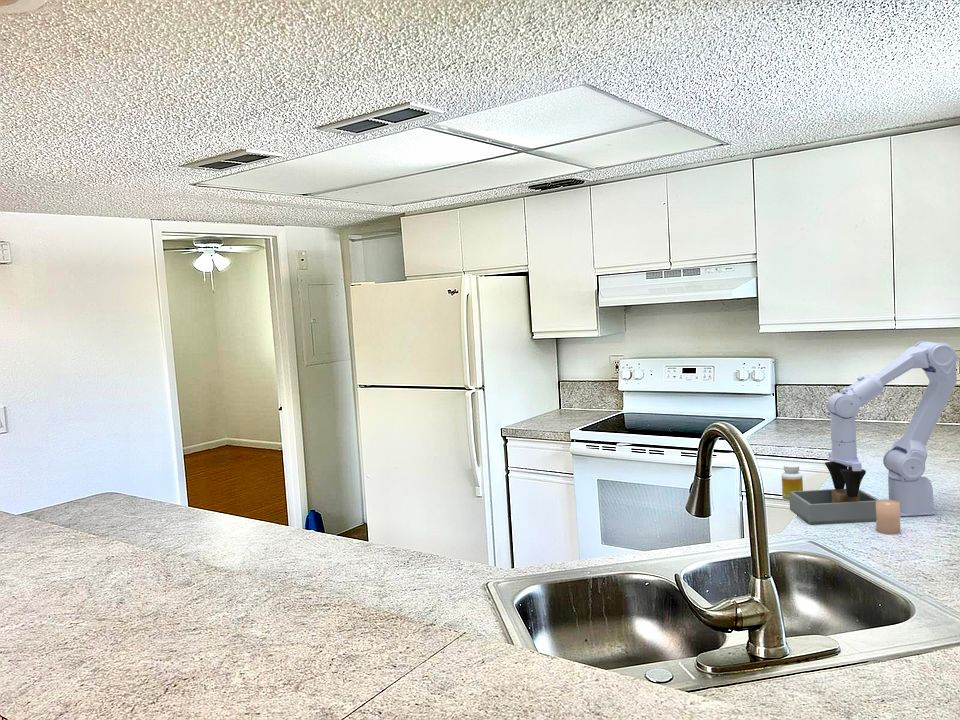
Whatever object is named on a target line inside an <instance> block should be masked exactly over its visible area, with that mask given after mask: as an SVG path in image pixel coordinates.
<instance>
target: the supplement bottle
mask: <svg viewBox="0 0 960 720" xmlns="http://www.w3.org/2000/svg"><path fill="white" fill-rule="evenodd" d="M783 471H784V472H782V473H781V497H782V500H783V501H784V502H788V503H790V499H789V492H791V491H804V485H803V484H804V483H803V480H804V479H803V475H802V473H801V472H799V471H800V465H799V464H795V463H788V464H784V465H783Z"/></svg>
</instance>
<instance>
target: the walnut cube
mask: <svg viewBox="0 0 960 720" xmlns="http://www.w3.org/2000/svg"><path fill="white" fill-rule="evenodd" d="M831 493H832V503H841V502H859V501H860V494H858V496H857V497H848V495H847V492H846V490H834V491H831Z"/></svg>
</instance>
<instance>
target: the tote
mask: <svg viewBox="0 0 960 720" xmlns="http://www.w3.org/2000/svg"><path fill="white" fill-rule="evenodd" d="M834 490H836V489H835V488H831V489H827V488H826V489H812V490H811V489H810V490H803V491H791V492H789V499H790V502H789V511H790V512H792V513H793V514H795V515H796V516H797V517H799V518H800V519H801V520H802V521H804V522H806V523H807V524H808V525H810V526H812V525H813V526H815V525H816V526H817V525H831V524H852V523H853V524H854V523H870V522H872V523H873V522H876V500H880V499H878V498H877V497H875V496H873V495H871V494H869V493H867V492H865V491H864V490H861V489H860V488H859V492H858V494H860V501H859V502H841V503H832V493H831V491H834ZM840 490H846V487H844V489H840Z"/></svg>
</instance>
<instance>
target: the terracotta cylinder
mask: <svg viewBox="0 0 960 720" xmlns="http://www.w3.org/2000/svg"><path fill="white" fill-rule="evenodd" d="M875 523H876V527H875V528H876V532H878V533H879V534H884V535H898V534H900V533H901V516H900V503H899V502H898V501H895V500H889V498H887V499H885V498H884V499H883V498H882V499H879V500H876V521H875Z"/></svg>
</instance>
